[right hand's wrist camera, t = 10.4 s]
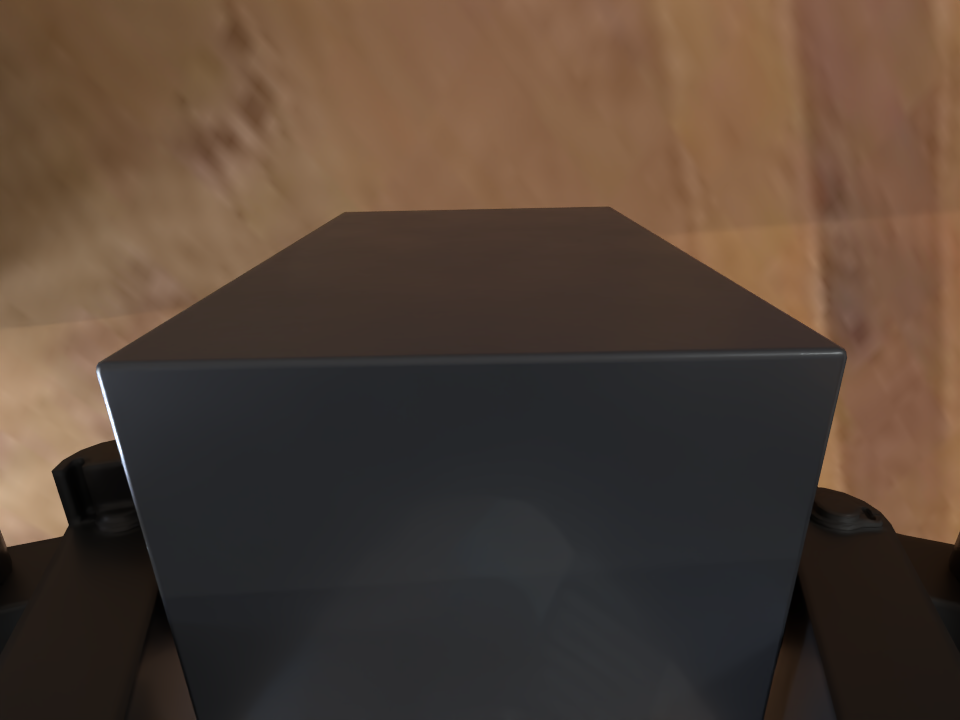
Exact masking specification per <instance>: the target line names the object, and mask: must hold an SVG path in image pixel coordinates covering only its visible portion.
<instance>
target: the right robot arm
mask: <svg viewBox="0 0 960 720" xmlns="http://www.w3.org/2000/svg"><path fill="white" fill-rule="evenodd" d="M52 474H53V477H54V480H55V483H56V486H57V489H58V492H59V496H60V499H61V502H62V505H63V508H64V511H65V514H66V517H67V520H68V523H69V526H68V528H67V530H66V532H65V534H64V536H62V537H58V538H53V539H47V540H42V541H37V542H32V543H27V544H21V545H16V546H11V547H6V544H5V541H4V539H3V536H2V533H1V531H0V720H197V719H196V716H195V712H194V709H193V705H192V702H191V699H190V695H189V692H188V688H187V685H186V681H185V678H184V674H183V671H182V667H181V664H180V660H179V657H178V654H177V650H176V647H175V643H174V640H173V636H172V633H171V629H170V626H169V622H168V619H167V615H166V612H165V609H164V605H163V602H162V598H161V595H160V591H159V588H158V584H157V581H156V577H155V574H154V570H153V567H152V564H151V560H150V557H149V553H148V550H147V546H146V543H145V539H144V536H143V532H142V529H141V526H140V522H139V519H138V515H137V512H136V508H135V505H134V501H133V498H132V494H131V491H130V487H129V484H128V481H127V477H126V474H125V470H124V467H123V463H122V460H121V456H120V453H119V449H118V446H117V442H116V440H112V441H108V442H103V443H100V444H97V445H94V446H91V447H89V448H86V449H83V450H80V451H79V452H77V453H75V454H73V455H71V456H70V457H68V458H66V459H64V460H63V461H62V462H61V463H60V464H59V465H57V466H56V467H55V468H54V469H53V470H52ZM764 720H960V532H959V535H958V538H957V540H956V543H955V545H953V544H948V543H943V542H937V541H932V540H927V539H922V538H916V537H911V536H906V535H901V534H897V533H895V531H894V529H893V527H892V525H891V524H890V522H889V521H888V520H887V519H886V518H885V517H884V515H883V514H882V513H881V512H880V511H878V510H877V509H875V508H874V507H872V506H871V505H869V504H868V503H866V502H865V501H862V500H860V499H858V498H855V497H853V496H851V495H848V494H846V493H843V492H839V491H835V490H831V489H827V488H819V487H817V490H816V494H815V499H814V503H813V507H812V512H811V516H810V520H809V525H808V529H807V533H806V538H805V542H804V546H803V551H802V555H801V559H800V564H799V568H798V572H797V577H796V581H795V585H794V590H793V594H792V599H791V603H790V607H789V612H788V616H787V620H786V625H785V629H784V633H783V638H782V642H781V646H780V651H779V655H778V659H777V664H776V668H775V672H774V677H773V681H772V685H771V690H770V694H769V698H768V703H767V707H766V711H765V716H764Z"/></svg>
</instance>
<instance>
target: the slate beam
mask: <svg viewBox="0 0 960 720" xmlns="http://www.w3.org/2000/svg"><path fill="white" fill-rule="evenodd" d="M846 360H847V355H846V351H845V349H844V348H842V347H841V346H839V345H837V344H836V343H834V342H832V341H831V340H829V339H827V338H826V337H824V336H822V335H821V334H819V333H817V332H816V331H814V330H812V329H811V328H809V327H807V326H806V325H804V324H803V323H801V322H799V321H798V320H796V319H794V318H793V317H791V316H789V315H788V314H786V313H784V312H783V311H781V310H779V309H778V308H776V307H774V306H773V305H771V304H769V303H768V302H766V301H764V300H763V299H761V298H760V297H758V296H756V295H755V294H753V293H751V292H750V291H748V290H746V289H745V288H743V287H741V286H740V285H738V284H736V283H735V282H733V281H731V280H730V279H728V278H726V277H725V276H723V275H722V274H720V273H718V272H717V271H715V270H713V269H712V268H710V267H708V266H707V265H705V264H703V263H702V262H700V261H698V260H697V259H695V258H693V257H692V256H690V255H688V254H687V253H685V252H683V251H682V250H680V249H679V248H677V247H675V246H674V245H672V244H670V243H669V242H667V241H665V240H664V239H662V238H660V237H659V236H657V235H655V234H654V233H652V232H650V231H649V230H647V229H645V228H644V227H642V226H641V225H639V224H637V223H636V222H634V221H632V220H631V219H629V218H627V217H626V216H624V215H622V214H621V213H619V212H617V211H616V210H614V209H612V208H611V207H571V208H523V209H476V210H428V211H380V212H344V213H342V214H341V215H339V216H337V217H336V218H334V219H332V220H331V221H329V222H328V223H326V224H324V225H323V226H321V227H319V228H318V229H316V230H315V231H313V232H311V233H310V234H308V235H306V236H305V237H303V238H301V239H300V240H298V241H297V242H295V243H293V244H292V245H290V246H288V247H287V248H285V249H283V250H282V251H280V252H279V253H277V254H275V255H274V256H272V257H270V258H269V259H267V260H266V261H264V262H262V263H261V264H259V265H257V266H256V267H254V268H252V269H251V270H249V271H248V272H246V273H244V274H243V275H241V276H239V277H238V278H236V279H235V280H233V281H231V282H230V283H228V284H226V285H225V286H223V287H221V288H220V289H218V290H217V291H215V292H213V293H212V294H210V295H208V296H207V297H205V298H203V299H202V300H200V301H199V302H197V303H195V304H194V305H192V306H190V307H189V308H187V309H186V310H184V311H182V312H181V313H179V314H177V315H176V316H174V317H172V318H171V319H169V320H168V321H166V322H164V323H163V324H161V325H159V326H158V327H156V328H155V329H153V330H151V331H150V332H148V333H146V334H145V335H143V336H141V337H140V338H138V339H137V340H135V341H133V342H132V343H130V344H128V345H127V346H125V347H123V348H122V349H120V350H119V351H117V352H115V353H114V354H112V355H110V356H109V357H107V358H106V359H104V360H102V361H101V362H99V363H98V365H97V368H96V373H97V377H98V380H99V384H100V387H101V391H102V394H103V397H104V401H105V404H106V408H107V411H108V415H109V418H110V422H111V425H112V429H113V432H114V436H115V439H116V442H117V446H118V449H119V453H120V456H121V460H122V463H123V467H124V470H125V474H126V477H127V481H128V484H129V487H130V491H131V494H132V498H133V501H134V505H135V508H136V512H137V515H138V519H139V522H140V526H141V529H142V532H143V536H144V539H145V543H146V546H147V550H148V553H149V557H150V560H151V564H152V567H153V570H154V574H155V577H156V581H157V584H158V588H159V591H160V595H161V598H162V602H163V605H164V609H165V612H166V615H167V619H168V622H169V626H170V629H171V633H172V636H173V640H174V643H175V647H176V650H177V654H178V657H179V660H180V664H181V667H182V671H183V674H184V678H185V681H186V685H187V688H188V692H189V695H190V699H191V702H192V705H193V709H194V712H195V716H196V719H197V720H764V716H765V711H766V707H767V703H768V698H769V694H770V690H771V685H772V681H773V677H774V672H775V668H776V664H777V659H778V655H779V651H780V646H781V642H782V638H783V633H784V629H785V625H786V620H787V616H788V612H789V607H790V603H791V599H792V594H793V590H794V585H795V581H796V577H797V572H798V568H799V564H800V559H801V555H802V551H803V546H804V542H805V538H806V533H807V529H808V525H809V520H810V516H811V512H812V507H813V503H814V499H815V494H816V490H817V486H818V481H819V477H820V473H821V468H822V464H823V460H824V455H825V451H826V447H827V442H828V438H829V434H830V429H831V425H832V421H833V416H834V412H835V408H836V403H837V399H838V394H839V390H840V386H841V381H842V377H843V373H844V368H845V364H846Z"/></svg>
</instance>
